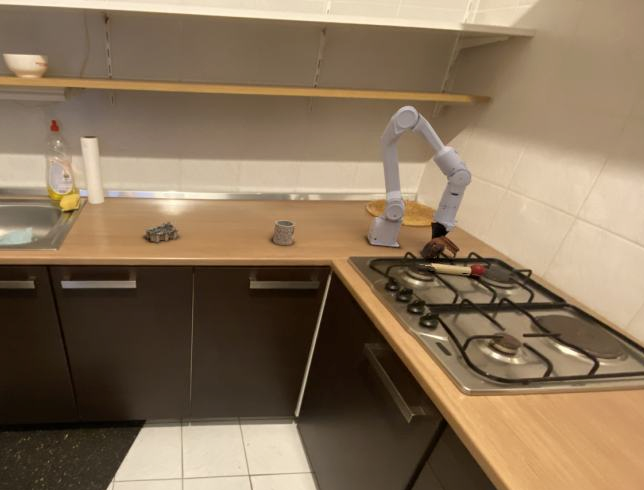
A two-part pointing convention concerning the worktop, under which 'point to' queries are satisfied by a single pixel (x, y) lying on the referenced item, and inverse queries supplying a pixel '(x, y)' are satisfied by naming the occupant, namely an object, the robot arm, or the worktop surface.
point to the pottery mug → (439, 247)
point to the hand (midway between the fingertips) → (434, 244)
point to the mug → (283, 232)
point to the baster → (459, 269)
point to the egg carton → (162, 232)
